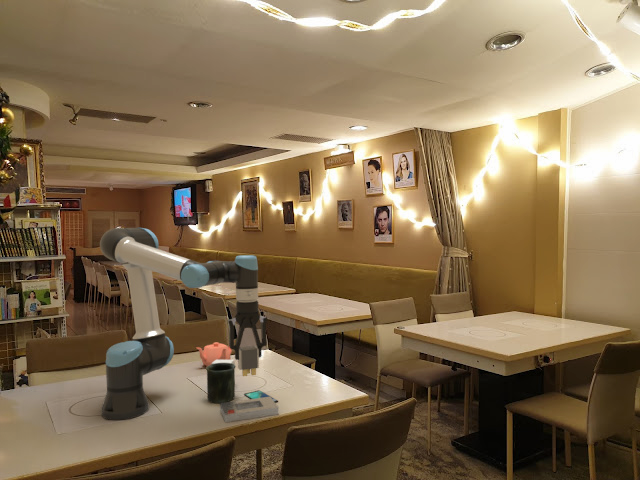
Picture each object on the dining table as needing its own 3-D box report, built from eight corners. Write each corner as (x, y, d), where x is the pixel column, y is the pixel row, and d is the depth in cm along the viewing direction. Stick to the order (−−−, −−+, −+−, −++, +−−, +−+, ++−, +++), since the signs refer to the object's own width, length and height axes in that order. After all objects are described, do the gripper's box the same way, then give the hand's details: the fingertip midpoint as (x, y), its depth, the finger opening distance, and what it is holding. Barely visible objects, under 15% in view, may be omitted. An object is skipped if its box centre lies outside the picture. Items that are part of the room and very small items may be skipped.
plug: (242, 377, 158) (242, 350, 158) (239, 373, 163) (239, 347, 163) (257, 375, 160) (257, 349, 160) (254, 371, 165) (254, 345, 165)
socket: (225, 422, 154) (225, 413, 154) (220, 410, 164) (220, 402, 164) (278, 414, 160) (278, 405, 160) (270, 403, 170) (270, 395, 170)
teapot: (235, 361, 225) (235, 339, 225) (227, 370, 211) (226, 346, 211) (206, 361, 226) (205, 338, 226) (195, 370, 212) (195, 346, 212)
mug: (210, 406, 168) (209, 372, 168) (201, 393, 181) (201, 362, 181) (239, 401, 173) (239, 368, 173) (229, 389, 186) (228, 359, 186)
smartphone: (262, 405, 167) (243, 393, 180) (262, 407, 167) (243, 395, 180) (279, 401, 172) (259, 389, 184) (279, 403, 172) (259, 391, 184)
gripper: (222, 303, 154) (223, 374, 155) (275, 300, 161) (276, 367, 161) (218, 300, 161) (220, 368, 162) (270, 297, 168) (271, 362, 168)
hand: (248, 367), depth 162 cm, fingers closed on plug, 5 cm apart
